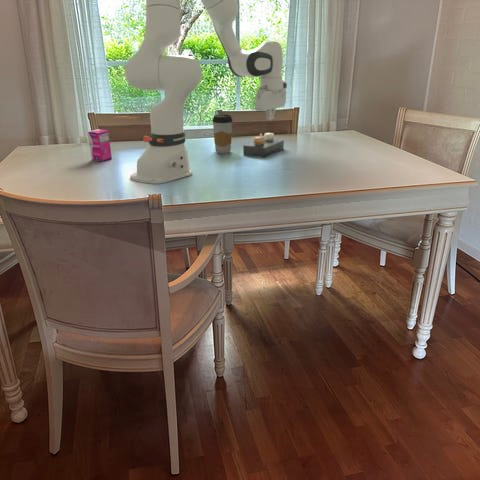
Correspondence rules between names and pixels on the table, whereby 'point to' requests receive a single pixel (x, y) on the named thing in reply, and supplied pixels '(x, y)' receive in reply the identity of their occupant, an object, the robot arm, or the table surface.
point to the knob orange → (259, 140)
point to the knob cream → (269, 136)
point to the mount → (263, 148)
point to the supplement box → (99, 145)
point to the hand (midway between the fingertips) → (270, 120)
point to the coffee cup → (222, 133)
